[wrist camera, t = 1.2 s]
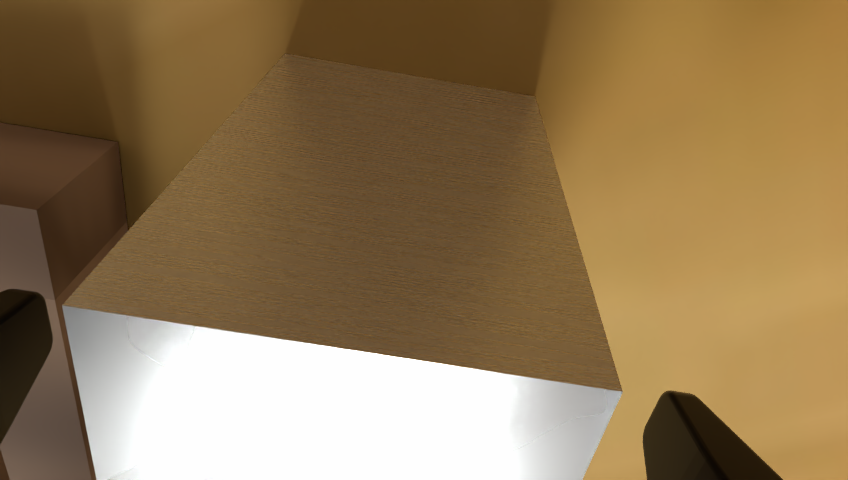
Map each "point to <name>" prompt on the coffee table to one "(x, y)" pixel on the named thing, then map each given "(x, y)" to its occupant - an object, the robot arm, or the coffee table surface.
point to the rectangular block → (349, 296)
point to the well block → (54, 279)
